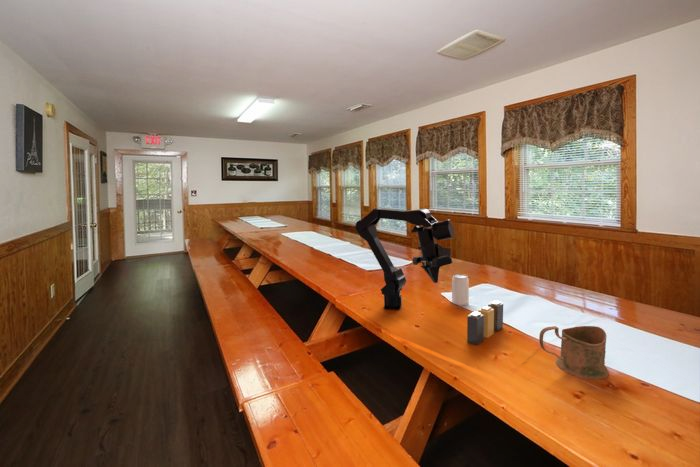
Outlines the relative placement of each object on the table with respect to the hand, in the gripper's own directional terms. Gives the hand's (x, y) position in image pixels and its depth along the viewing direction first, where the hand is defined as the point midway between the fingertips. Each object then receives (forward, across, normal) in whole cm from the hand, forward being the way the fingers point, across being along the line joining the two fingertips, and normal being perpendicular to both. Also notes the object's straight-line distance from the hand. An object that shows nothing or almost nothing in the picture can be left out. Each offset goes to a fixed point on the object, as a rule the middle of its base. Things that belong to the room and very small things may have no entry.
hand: (435, 282), depth 127 cm
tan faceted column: (+16, -20, -2) cm, 26 cm away
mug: (+22, -42, -9) cm, 49 cm away
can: (+14, +7, -13) cm, 20 cm away
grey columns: (+16, -15, 0) cm, 22 cm away
